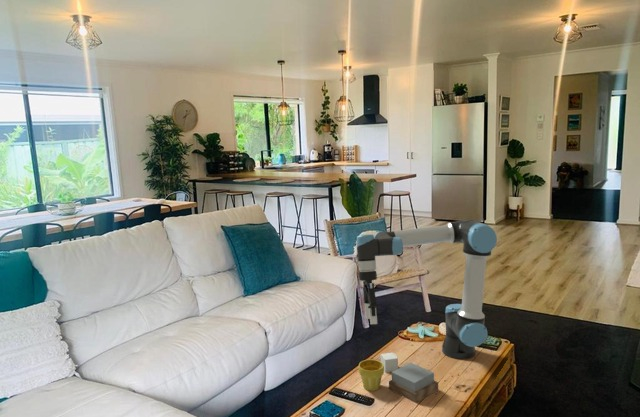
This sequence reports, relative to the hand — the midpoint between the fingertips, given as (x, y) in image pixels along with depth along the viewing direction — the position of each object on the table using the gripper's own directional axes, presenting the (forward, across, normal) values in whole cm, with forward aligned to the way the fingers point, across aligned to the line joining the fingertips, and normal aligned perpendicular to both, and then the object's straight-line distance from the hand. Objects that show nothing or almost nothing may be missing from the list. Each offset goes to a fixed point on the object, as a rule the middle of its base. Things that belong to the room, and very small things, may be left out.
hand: (371, 321), depth 194 cm
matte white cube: (+24, -14, +9) cm, 29 cm away
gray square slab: (+24, +6, +14) cm, 29 cm away
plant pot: (+27, +1, -2) cm, 27 cm away
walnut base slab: (+28, +5, +14) cm, 32 cm away
